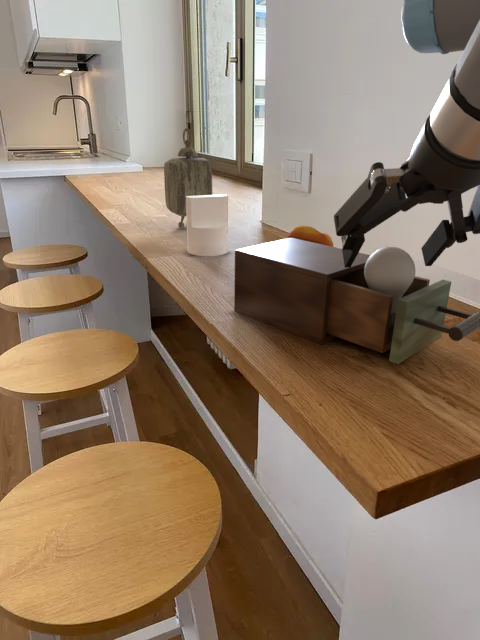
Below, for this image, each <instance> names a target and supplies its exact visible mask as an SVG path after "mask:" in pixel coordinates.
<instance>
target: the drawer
mask: <svg viewBox="0 0 480 640" xmlns="http://www.w3.org/2000/svg"><path fill="white" fill-rule="evenodd" d="M430 282H431V279H429V278H425V277H420V276H416V275H415V277H414V279H413V282H412V283H411V285H410V286H409V288H408V289H407V290H406V292H405V293H404V294H403V296H402V298H400V299H398V302H397V309H396V313H395V319H394V324H393V326H392V327H390V328H389V323H390V316H391V309H392V302H393V295H390V294H386V293H383V292H379V291H375V290H372V289H369V287H368V284H367V282H366V279H365V275H364V268H363V269H360V270H357V271H354V272H351V273H348V274H345V275H342V276H339V277H336V278H333V279H330V291H329V303H328V314H327V325H326V333H328V334H331V335H333V336H336V337H337V338H339V339H342V340H345V341H346V342H347V341H348V342H350V343H352V344H356V345H359V346H362V347H364V348H367V349H370V350H373V351H375V352H378V353H380V354H384V353H385V352H387V351H389V350H390V352H389V359H388V361H389V362H391V363H393V364H397V365H400V364H401V363H403V362H404V361H406V360H407V359H409V358H410V357H412V356H413V355H415V354H417V353H418V352H420V351H422V350H424V349H425V348H426V347H428V346H430V345H431V344H434V343H435V342H436V341H438V340H440V339H441V338H442V335H443V333H444V334H448V337H449V338H450V339H451V340H452V341H455V342H459V341H461V340H463V339H464V338H466V337H467V336H468V335H470V334H472V333H473V332H475V331H476V330H478V329H479V328H480V311H476V312H475V313H469V312H465V311H462V310H458V309H454V308H451V307H448V303H449V297H450V292H451V286H452V281H451V280H448V279H447V280H446V279H440V280H438V281H436V282H433V283H431V284H430ZM446 314H447V315H451V316H454V317H458V318H461V319H463V320H462V321H460V322H459V323H457V324H455V325H454V326H452V327H450V326H447V325H445V324H444V323H445V319H446Z"/></svg>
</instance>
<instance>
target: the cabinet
mask: <svg viewBox="0 0 480 640" xmlns="http://www.w3.org/2000/svg"><path fill="white" fill-rule="evenodd" d="M370 256H371V254H367V253H363V252H359V253H358V254H357V256H356V258H355V260H354V262H353V264H352V266H351V267H350V268H345V266H344V259H343V253H342V248H340V247H337V246H336V247H335V246H334V247H331V246H327V245H322V244H318V243H313V242H309V241H304V240H299V239H295V238H287V237H286V238H282V239H278V240H274V241H269V242H263V243H260V244H255V245H250V246H246V247H242V248H237V249H235V250H234V295H233V300H234V302H233V303H234V305H233V311H234V313H235V312H236V313H238V314H241V315H243V316H246V317H248V318H251V319H254V320H256V321H259V322H261V323H264V324H267V325H268V326H269V325H270V326H272V327H274V328H277V329H280V330H283V331H284V332H288V333H290V334H292V335H295V336H298V337H300V338H303V339H305V340H307V341H310V342H313V343H315V344H318V345H321V346H322V345H324V344H326V343H328V342H330V341H333V340H335V339H337V338H338V337H336V336H333V335H331V334H328V333H326V325H327V314H328V303H329V291H330V279H333V278H336V277H339V276H342V275H345V274H348V273H351V272H354V271H357V270H360V269H363V268H365V264H366V262H367V260H368V258H369V257H370Z"/></svg>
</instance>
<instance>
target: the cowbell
mask: <svg viewBox="0 0 480 640" xmlns="http://www.w3.org/2000/svg"><path fill="white" fill-rule="evenodd" d="M186 132H188V135H189V139H186V138H185V137H186ZM182 140H183V144H184V145H185V147H182V148H181V149H180V150H179V151H178V153H177V157H172V158H171V159H168V160H167V161H165V162H164V166H163V168H164V169H163V174H164V175H163V176H164V177H163V178H164V181H163V182H164V197H165V206H166V208H167V210H169V211H170V212H171V213H173V214H174V215H177V216H179V217H181V218H180V221H179V222H178V224H177V226H178V228H180V229H183V228H184V227H185V223H184V219H185V217H187V214H186V196H196V195H213V171H212V164H211V162H210V161H209V159H207V158H205V157H198V153H197V151H196V150H195V149H194V147H190V146H191V145H192V141H193V136H192V130H191V129H190V128H188V127H185V128H184V129H183V131H182Z"/></svg>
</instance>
